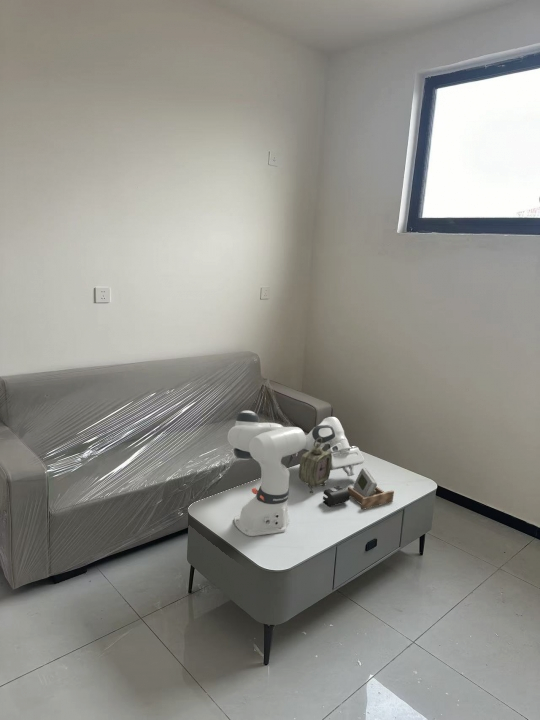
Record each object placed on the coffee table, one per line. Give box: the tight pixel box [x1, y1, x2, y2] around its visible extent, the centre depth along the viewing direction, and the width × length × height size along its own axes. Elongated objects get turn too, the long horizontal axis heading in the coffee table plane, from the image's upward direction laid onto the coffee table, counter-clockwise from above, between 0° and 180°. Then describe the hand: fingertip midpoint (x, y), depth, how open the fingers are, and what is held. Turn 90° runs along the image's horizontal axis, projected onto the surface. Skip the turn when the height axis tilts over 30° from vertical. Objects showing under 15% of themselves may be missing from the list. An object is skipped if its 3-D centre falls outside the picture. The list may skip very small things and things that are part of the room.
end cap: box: [322, 485, 351, 508], centre depth 221 cm, size 10×7×7 cm
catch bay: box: [346, 486, 395, 510], centre depth 228 cm, size 18×14×5 cm
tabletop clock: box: [298, 438, 332, 495], centre depth 231 cm, size 14×9×25 cm, turn 143°
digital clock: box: [352, 467, 378, 497], centre depth 229 cm, size 16×9×11 cm, turn 177°
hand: (351, 475), depth 238 cm, fingers closed
